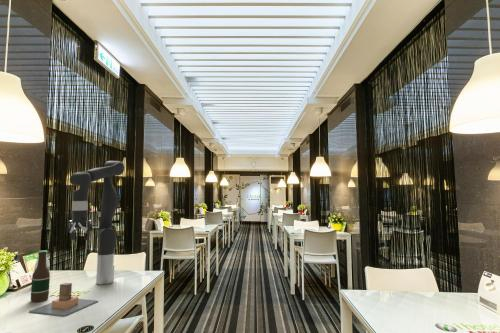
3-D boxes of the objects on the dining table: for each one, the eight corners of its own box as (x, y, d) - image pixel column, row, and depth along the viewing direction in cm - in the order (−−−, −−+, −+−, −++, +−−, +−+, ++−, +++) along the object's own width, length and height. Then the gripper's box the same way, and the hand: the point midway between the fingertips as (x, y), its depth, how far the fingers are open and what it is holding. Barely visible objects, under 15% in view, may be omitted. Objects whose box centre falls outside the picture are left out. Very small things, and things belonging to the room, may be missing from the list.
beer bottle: (32, 298, 160) (36, 251, 163) (50, 296, 163) (53, 250, 165) (28, 303, 153) (31, 253, 155) (46, 301, 156) (49, 252, 158)
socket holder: (65, 298, 160) (65, 291, 160) (98, 301, 155) (98, 294, 155) (28, 312, 141) (29, 304, 141) (64, 316, 136) (65, 307, 136)
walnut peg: (64, 304, 150) (65, 282, 151) (70, 304, 149) (71, 283, 150) (58, 306, 147) (59, 284, 148) (64, 307, 146) (65, 285, 147)
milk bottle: (29, 286, 182) (32, 251, 184) (41, 283, 190) (43, 249, 192) (40, 287, 180) (42, 252, 182) (51, 283, 188) (53, 250, 190)
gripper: (96, 208, 170) (95, 239, 169) (74, 209, 173) (73, 238, 172) (86, 209, 163) (85, 241, 161) (63, 210, 166) (62, 240, 165)
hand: (79, 239), depth 167 cm, fingers open, 8 cm apart
